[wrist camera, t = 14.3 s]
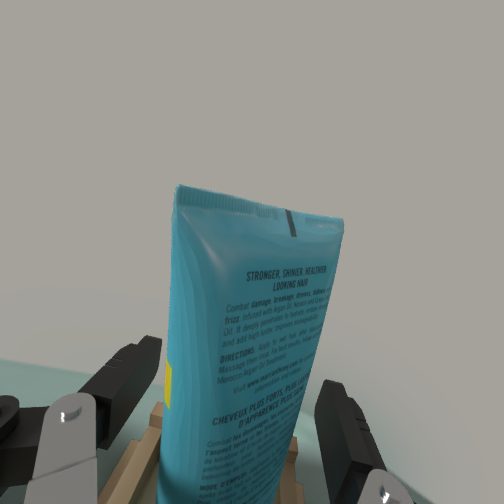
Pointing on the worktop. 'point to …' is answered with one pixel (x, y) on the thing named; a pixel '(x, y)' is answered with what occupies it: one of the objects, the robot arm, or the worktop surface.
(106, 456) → the worktop surface
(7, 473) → the robot arm
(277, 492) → the keyhole tray
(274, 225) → the tube
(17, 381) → the worktop surface
